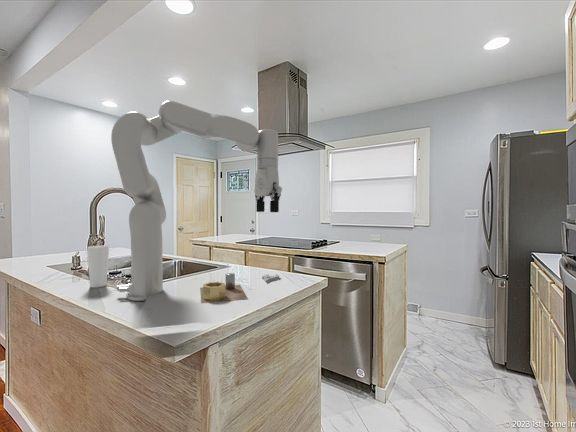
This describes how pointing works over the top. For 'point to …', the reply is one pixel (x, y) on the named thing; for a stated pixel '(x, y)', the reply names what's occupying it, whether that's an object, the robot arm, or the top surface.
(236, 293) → the walnut board
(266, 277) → the adjustable wrench
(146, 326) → the top surface
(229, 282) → the steel post
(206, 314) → the top surface
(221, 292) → the brass ring
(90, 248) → the drinking glass
